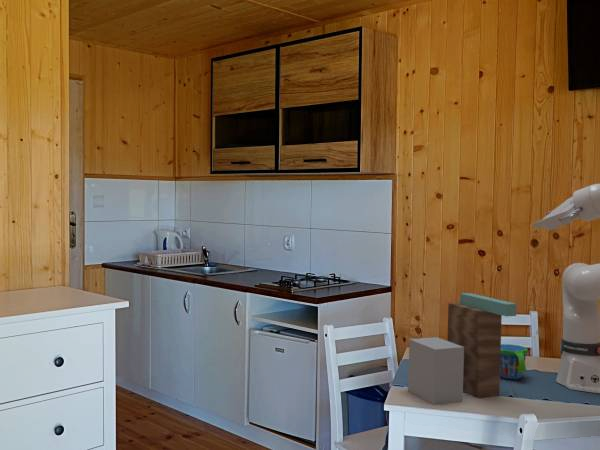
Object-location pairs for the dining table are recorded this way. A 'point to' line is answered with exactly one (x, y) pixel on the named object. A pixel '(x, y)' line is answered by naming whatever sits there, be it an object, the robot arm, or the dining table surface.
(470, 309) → the walnut stand
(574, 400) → the dining table surface
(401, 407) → the dining table surface
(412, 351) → the base block
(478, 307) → the batten
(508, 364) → the snack cup
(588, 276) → the robot arm
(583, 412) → the dining table surface
